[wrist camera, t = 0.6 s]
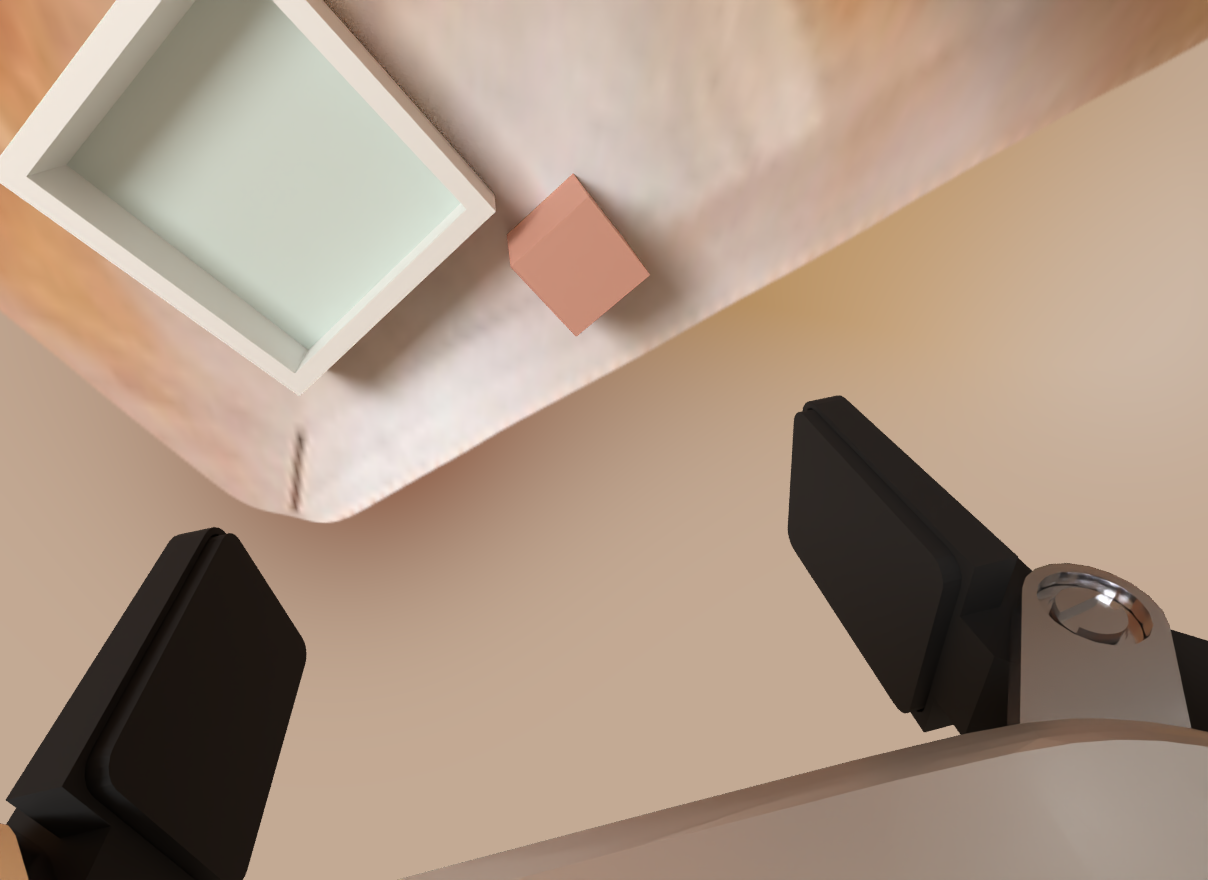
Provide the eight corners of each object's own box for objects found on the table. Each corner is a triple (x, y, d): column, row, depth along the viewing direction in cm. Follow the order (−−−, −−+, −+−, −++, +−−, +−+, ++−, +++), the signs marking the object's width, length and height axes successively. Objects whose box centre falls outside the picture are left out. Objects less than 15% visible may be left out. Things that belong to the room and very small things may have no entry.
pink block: (572, 173, 33) (588, 196, 28) (627, 242, 35) (650, 274, 31) (506, 234, 34) (510, 267, 29) (563, 297, 37) (576, 336, 32)
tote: (239, -95, 25) (201, -116, 22) (494, 194, 33) (495, 211, 29) (44, 158, 29) (-14, 173, 25) (316, 364, 36) (299, 396, 33)
